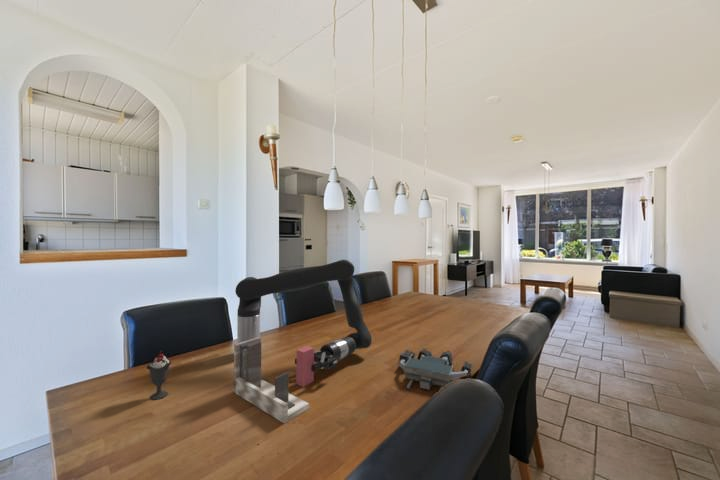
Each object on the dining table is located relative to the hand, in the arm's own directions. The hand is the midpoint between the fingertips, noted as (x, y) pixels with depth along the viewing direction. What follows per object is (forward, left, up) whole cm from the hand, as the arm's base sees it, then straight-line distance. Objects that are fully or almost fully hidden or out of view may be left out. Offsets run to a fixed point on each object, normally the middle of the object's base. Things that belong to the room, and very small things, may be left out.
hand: (303, 365), depth 105 cm
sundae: (-23, -39, -7) cm, 46 cm away
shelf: (+2, -13, -7) cm, 15 cm away
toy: (+26, +41, -7) cm, 49 cm away
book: (0, +1, -7) cm, 7 cm away
